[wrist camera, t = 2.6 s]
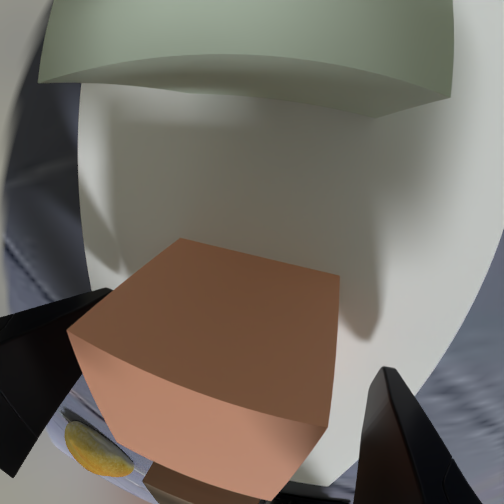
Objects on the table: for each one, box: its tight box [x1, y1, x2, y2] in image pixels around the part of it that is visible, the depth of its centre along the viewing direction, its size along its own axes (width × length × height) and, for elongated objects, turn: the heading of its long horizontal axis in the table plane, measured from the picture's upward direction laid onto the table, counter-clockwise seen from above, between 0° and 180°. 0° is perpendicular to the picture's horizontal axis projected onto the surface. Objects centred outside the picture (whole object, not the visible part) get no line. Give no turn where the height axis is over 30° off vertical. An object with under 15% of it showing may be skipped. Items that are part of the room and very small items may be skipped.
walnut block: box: [142, 462, 260, 504], centre depth 10 cm, size 4×4×4 cm
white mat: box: [78, 0, 504, 487], centre depth 9 cm, size 24×13×1 cm, turn 173°
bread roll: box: [65, 421, 134, 477], centre depth 21 cm, size 8×9×4 cm
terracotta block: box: [67, 238, 340, 501], centre depth 7 cm, size 4×4×4 cm
